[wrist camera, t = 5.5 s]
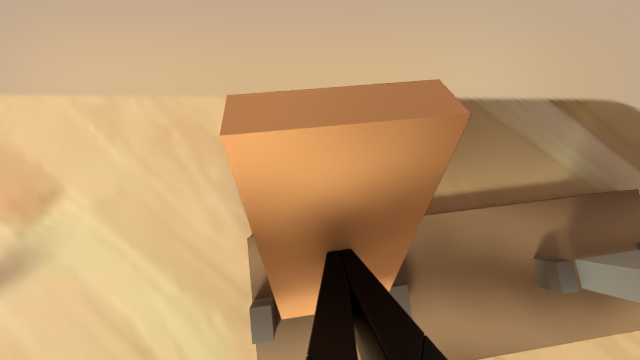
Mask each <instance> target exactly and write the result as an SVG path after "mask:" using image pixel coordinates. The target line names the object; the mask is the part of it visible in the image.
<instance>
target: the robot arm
mask: <svg viewBox="0 0 640 360" xmlns="http://www.w3.org/2000/svg"><path fill="white" fill-rule="evenodd" d="M356 344H357V347H358V351H359V354H360V357H361V360H448V359H447V358H446V357H445V356H444V355H443V353H442V352H441V351H440V350H439V349H438V348H437V347H436V346H435V345H434V343H433V342H432V341H431V340H430V339H429V338H428V336H427V335H425V336H424V332H423V331H422V330H421V328H420V327H419V326H418V325H417V324H416V323H415V322H414V320H413V319H412V318H411V317H410V316H409V315H408V313H407V312H406V311H405V310H404V309H403V308H402V307H401V305H400V304H399V303H398V302H397V301H396V300H395V298H394V297H393V296H392V295H391V294H390V293H389V292H388V290H387V289H386V288H385V287H384V286H383V285H382V283H381V282H380V281H379V280H378V279H377V278H376V276H375V275H374V274H373V273H372V272H371V271H370V270H369V268H368V267H367V266H366V265H365V264H364V263H363V261H362V260H361V259H360V258H359V257H358V256H357V255H356V253H355V252H354V251H353V250H352V249H343V250H340V251H338V250H336V251H329V252H327V254H326V258H325V264H324V269H323V274H322V279H321V284H320V289H319V294H318V299H317V305H316V310H315V315H314V320H313V325H312V330H311V335H310V340H309V346H308V351H307V356H306V360H358V356H357V347H356Z"/></svg>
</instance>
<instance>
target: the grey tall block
mask: <svg viewBox="0 0 640 360" xmlns="http://www.w3.org/2000/svg"><path fill="white" fill-rule="evenodd" d="M575 261H576V265H577V270H578V274H579V279H580V283H581V287H582V288H583V289H587V290H591V291H595V292H599V293H603V294H607V295H610V296H614V297H618V298H622V299H626V300H630V301H634V302H638V303H640V250H636V251H629V252H622V253H616V254H609V255H602V256H595V257H589V258H582V259H575Z"/></svg>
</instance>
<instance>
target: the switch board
mask: <svg viewBox="0 0 640 360" xmlns="http://www.w3.org/2000/svg"><path fill="white" fill-rule="evenodd" d="M247 242H248V254H249V266H250V278H251V289H252V301H253V303H252V305H251V307H250V320H251V332H252V344H256V349H257V360H306V356H307V351H308V346H309V340H310V335H311V330H312V325H313V320H314V315H315V314H314V315H307V316H301V317H294V318H288V319H281V316H280V313H279V310H278V307H277V304H276V301H275V298H274V295H273V292H272V289H271V286H270V283H269V280H268V277H267V274H266V271H265V268H264V265H263V262H262V259H261V257H260V254H259V251H258V248H257V245H256V242H255V239H254V236H251V237H248V238H247ZM636 250H640V194H639V190H638V189H636V190H623V191H614V192H606V193H598V194H590V195H582V196H574V197H566V198H557V199H549V200H541V201H533V202H525V203H517V204H509V205H501V206H493V207H485V208H477V209H469V210H461V211H453V212H445V213H436V214H428V215H424V217H423V219H422V222H421V224H420V226H419V228H418V230H417V232H416V235H415V237H414V239H413V241H412V243H411V245H410V247H409V250H408V252H407V254H406V256H405V258H404V260H403V263H402V265H401V267H400V269H399V271H398V273H397V276H396V278H395V280H394V282H393V284H392V286H391V289H390V291H389V293H390V294H391V295H392V296H393V297H394V298H395V300H396V301H397V302H398V303H399V304H400V305H401V307H402V308H403V309H404V310H405V311H406V312H407V313H408V315H409V316H410V317H411V318H412V319H413V320H414V322H415V323H416V324H417V325H418V326H419V327H420V328H421V330H422V331H423V332H424V336H425V335H427V336H428V338H429V339H430V340H431V341H432V342H433V343H434V345H435V346H436V347H437V348H438V349H439V350H440V351H441V352H442V353H443V355H444V356H445V357H446V358H447V359H448V360H478V359H484V358H489V357H495V356H500V355H506V354H511V353H517V352H522V351H528V350H534V349H539V348H545V347H550V346H556V345H561V344H567V343H572V342H578V341H583V340H589V339H594V338H600V337H605V336H611V335H617V334H622V333H628V332H633V331H639V330H640V303H638V302H634V301H630V300H626V299H622V298H618V297H614V296H610V295H607V294H603V293H599V292H595V291H591V290H587V289H583V288H582V287H581V283H580V279H579V274H578V270H577V265H576V261H575V259H582V258H589V257H595V256H602V255H609V254H616V253H622V252H629V251H636ZM356 347H357V344H356ZM357 356H358V360H361V357H360V354H359V351H358V347H357Z"/></svg>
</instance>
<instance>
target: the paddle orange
mask: <svg viewBox="0 0 640 360" xmlns="http://www.w3.org/2000/svg"><path fill="white" fill-rule="evenodd" d="M470 116H471V113H470V112H469V111H468V110H467V108H466V107H465V106H464V105H463V104H462V103H461V102H460V101H459V100H458V99H457V98H456V97H455V96H454V95H453V94H452V93H451V92H450V91H449V90H448V89H447V88H446V87H445V86H444V85H443V84H442V82H441V81H440V80H426V81H412V82H399V83H386V84H373V85H359V86H346V87H332V88H319V89H305V90H292V91H279V92H265V93H252V94H238V95H227V99H226V104H225V110H224V115H223V121H222V126H221V132H220V138H221V141H222V144H223V147H224V150H225V153H226V156H227V159H228V162H229V165H230V168H231V171H232V174H233V177H234V180H235V182H236V185H237V188H238V191H239V194H240V197H241V200H242V203H243V206H244V209H245V212H246V215H247V218H248V221H249V224H250V227H251V230H252V233H253V236H254V239H255V242H256V245H257V248H258V251H259V254H260V257H261V259H262V262H263V265H264V268H265V271H266V274H267V277H268V280H269V283H270V286H271V289H272V292H273V295H274V298H275V301H276V304H277V307H278V310H279V313H280V316H281V319H288V318H294V317H301V316H307V315H314V314H315V310H316V305H317V299H318V294H319V289H320V284H321V279H322V274H323V269H324V264H325V258H326V254H327V252H329V251H336V250H338V251H340V250H343V249H352V250H353V251H354V252H355V253H356V255H357V256H358V257H359V258H360V259H361V260H362V261H363V263H364V264H365V265H366V266H367V267H368V268H369V270H370V271H371V272H372V273H373V274H374V275H375V276H376V278H377V279H378V280H379V281H380V282H381V283H382V285H383V286H384V287H385V288H386V289H387V290H388V292H389V291H390V289H391V286H392V284H393V282H394V280H395V278H396V276H397V273H398V271H399V269H400V267H401V265H402V263H403V260H404V258H405V256H406V254H407V252H408V250H409V247H410V245H411V243H412V241H413V239H414V237H415V235H416V232H417V230H418V228H419V226H420V224H421V222H422V219H423V217H424V215H425V213H426V211H427V209H428V206H429V204H430V202H431V200H432V198H433V196H434V193H435V191H436V189H437V187H438V185H439V183H440V180H441V178H442V176H443V174H444V172H445V170H446V167H447V165H448V163H449V161H450V159H451V157H452V154H453V152H454V150H455V148H456V146H457V144H458V141H459V139H460V137H461V135H462V133H463V131H464V128H465V126H466V124H467V122H468V120H469V118H470Z"/></svg>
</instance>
